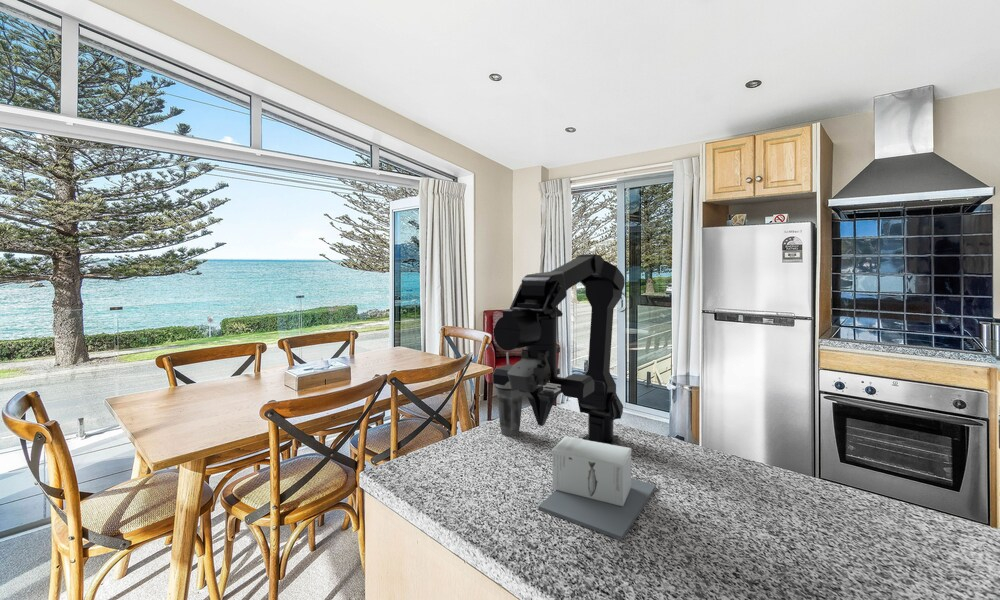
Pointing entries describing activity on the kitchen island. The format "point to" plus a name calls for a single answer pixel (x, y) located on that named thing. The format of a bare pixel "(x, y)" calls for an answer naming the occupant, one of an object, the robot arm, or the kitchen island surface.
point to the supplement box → (592, 470)
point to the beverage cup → (509, 408)
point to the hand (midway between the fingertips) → (541, 425)
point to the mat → (600, 509)
